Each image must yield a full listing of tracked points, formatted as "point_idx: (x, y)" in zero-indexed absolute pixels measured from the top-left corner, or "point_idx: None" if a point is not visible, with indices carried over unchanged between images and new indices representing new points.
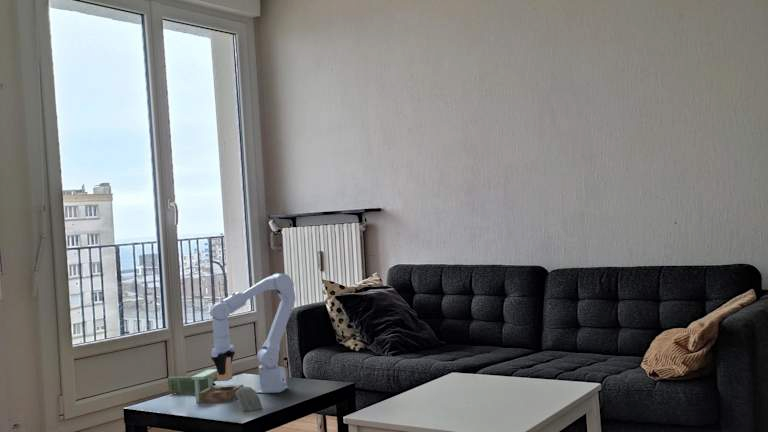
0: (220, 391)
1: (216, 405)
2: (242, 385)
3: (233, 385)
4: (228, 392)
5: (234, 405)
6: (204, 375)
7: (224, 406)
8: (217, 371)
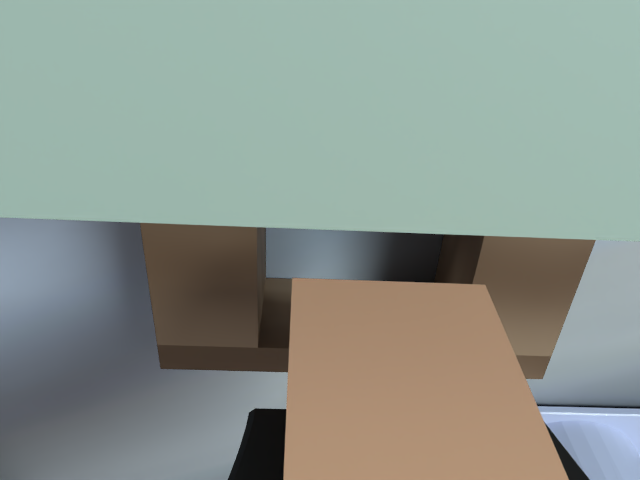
0: (202, 264)
1: (35, 224)
2: (523, 373)
3: (539, 293)
4: (162, 362)
5: (58, 378)
6: (83, 172)
7: (10, 314)
8: (288, 430)
